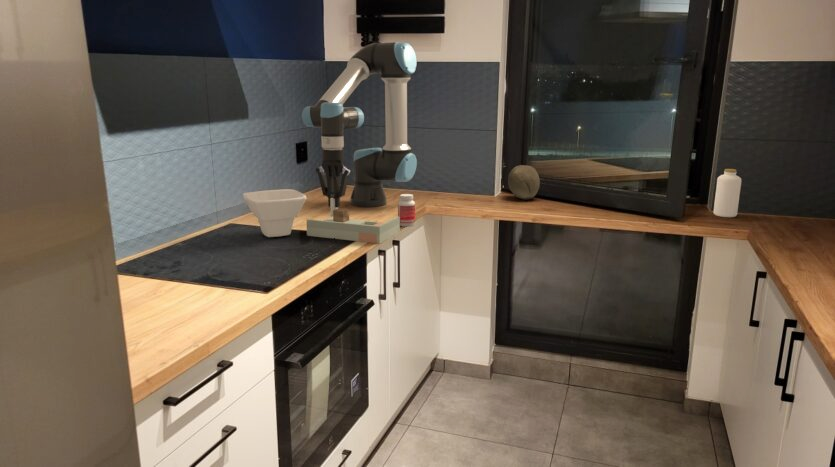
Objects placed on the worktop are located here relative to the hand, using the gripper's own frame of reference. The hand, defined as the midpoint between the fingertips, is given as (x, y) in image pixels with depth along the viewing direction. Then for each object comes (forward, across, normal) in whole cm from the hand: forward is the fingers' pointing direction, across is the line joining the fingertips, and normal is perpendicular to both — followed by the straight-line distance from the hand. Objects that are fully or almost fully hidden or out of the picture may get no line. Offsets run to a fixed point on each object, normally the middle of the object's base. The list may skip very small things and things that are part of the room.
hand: (334, 216), depth 220 cm
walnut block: (+2, +3, 0) cm, 3 cm away
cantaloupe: (+4, +49, +80) cm, 94 cm away
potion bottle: (+4, +129, +78) cm, 150 cm away
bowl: (+5, -13, -16) cm, 22 cm away
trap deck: (+5, +10, -4) cm, 12 cm away
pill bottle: (+5, +21, +15) cm, 26 cm away
